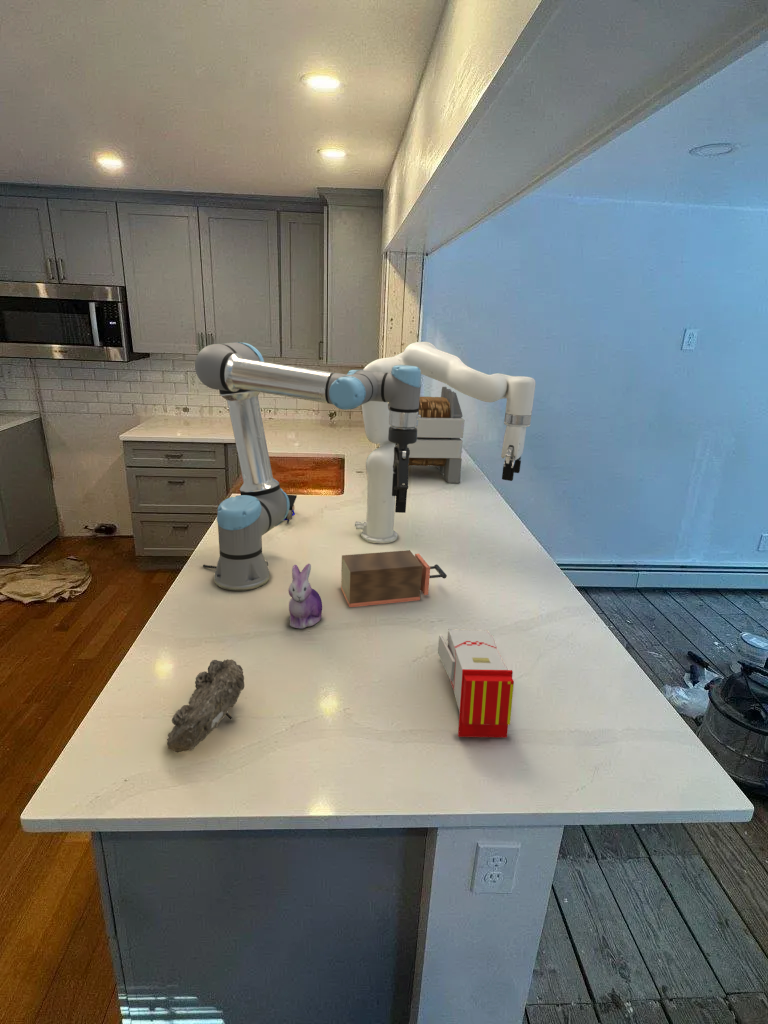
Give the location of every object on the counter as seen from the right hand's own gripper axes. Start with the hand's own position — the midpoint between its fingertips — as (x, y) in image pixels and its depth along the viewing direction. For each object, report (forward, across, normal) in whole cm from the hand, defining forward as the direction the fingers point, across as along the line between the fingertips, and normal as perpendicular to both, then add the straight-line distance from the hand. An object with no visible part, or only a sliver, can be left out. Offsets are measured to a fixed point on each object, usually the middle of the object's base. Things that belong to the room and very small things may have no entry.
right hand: (510, 476), depth 172 cm
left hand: (+4, +31, -24) cm, 39 cm away
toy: (+28, +68, +9) cm, 75 cm away
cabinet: (+28, +38, -25) cm, 54 cm away
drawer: (+28, +34, -20) cm, 49 cm away
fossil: (+28, +98, -33) cm, 108 cm away
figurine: (+28, +60, -36) cm, 75 cm away
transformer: (+28, -83, -59) cm, 106 cm away
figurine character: (+28, +2, -79) cm, 84 cm away
